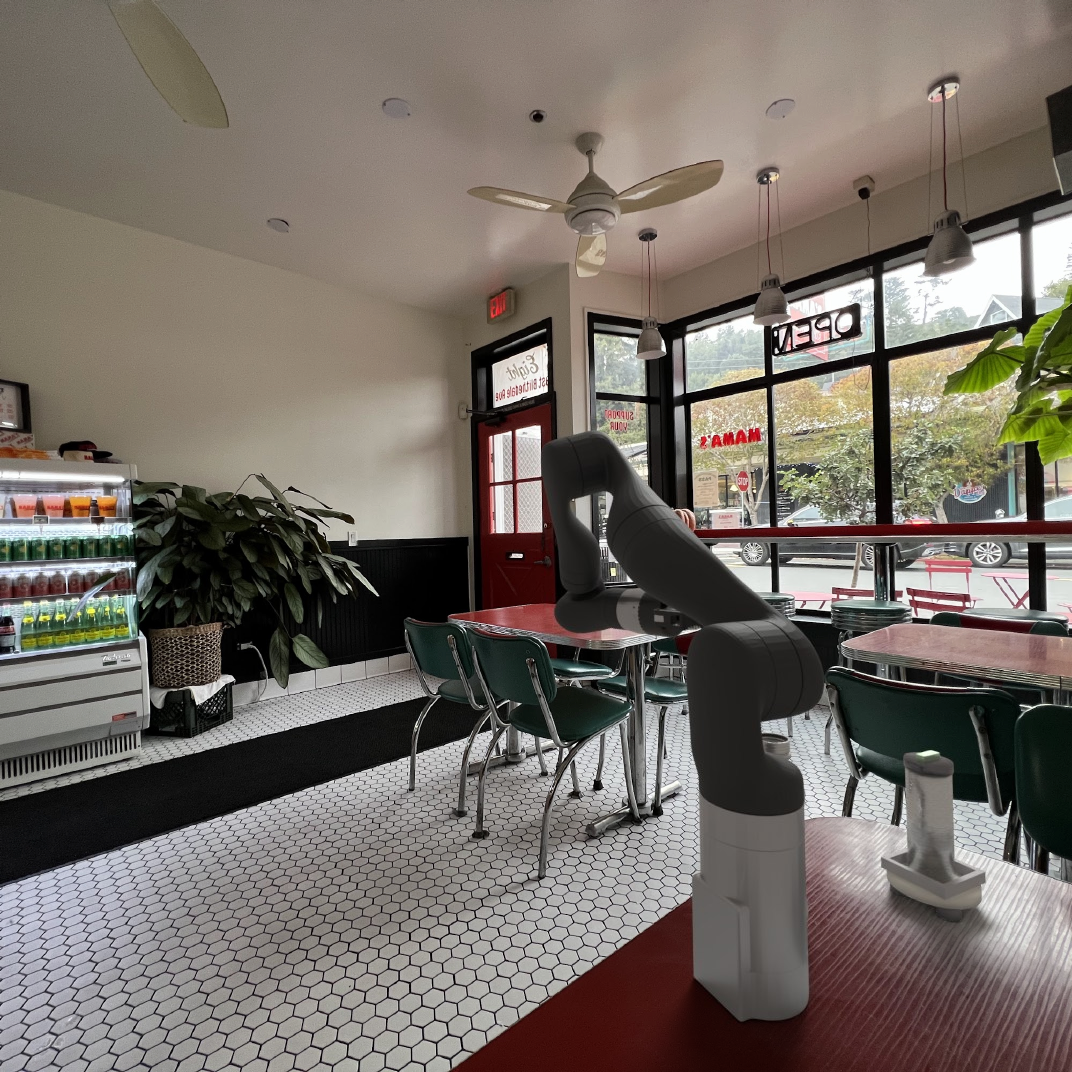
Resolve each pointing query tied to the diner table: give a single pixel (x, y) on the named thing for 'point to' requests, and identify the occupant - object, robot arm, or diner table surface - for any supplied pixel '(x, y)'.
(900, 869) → the rectangular footed bonsai pot
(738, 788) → the robot arm
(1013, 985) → the diner table surface
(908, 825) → the grey bottle with lid
